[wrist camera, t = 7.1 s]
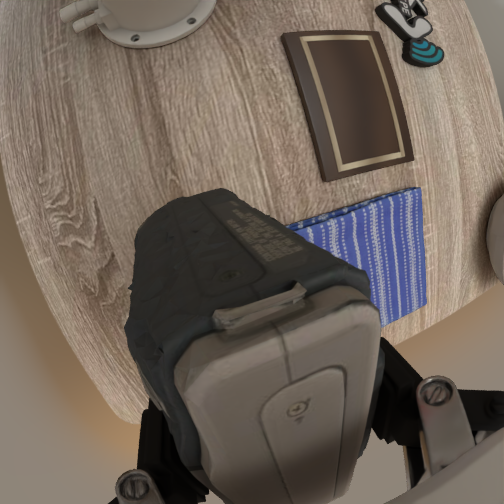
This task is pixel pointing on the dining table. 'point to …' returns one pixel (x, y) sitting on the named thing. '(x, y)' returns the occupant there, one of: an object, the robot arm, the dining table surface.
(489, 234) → the bowl
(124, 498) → the robot arm
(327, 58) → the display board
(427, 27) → the logo
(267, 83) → the dining table surface
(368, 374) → the camera
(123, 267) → the dining table surface
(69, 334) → the dining table surface
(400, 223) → the dish towel
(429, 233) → the dining table surface
